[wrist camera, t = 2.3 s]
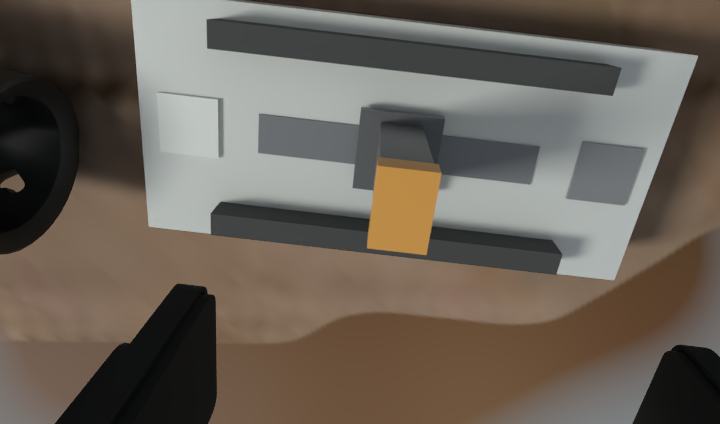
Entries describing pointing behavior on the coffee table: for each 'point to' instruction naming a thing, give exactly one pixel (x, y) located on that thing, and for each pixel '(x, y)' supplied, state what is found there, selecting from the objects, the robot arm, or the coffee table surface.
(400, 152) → the toggle
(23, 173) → the muzzle brake
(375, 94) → the breaker panel
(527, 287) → the coffee table surface
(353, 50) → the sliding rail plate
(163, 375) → the robot arm
